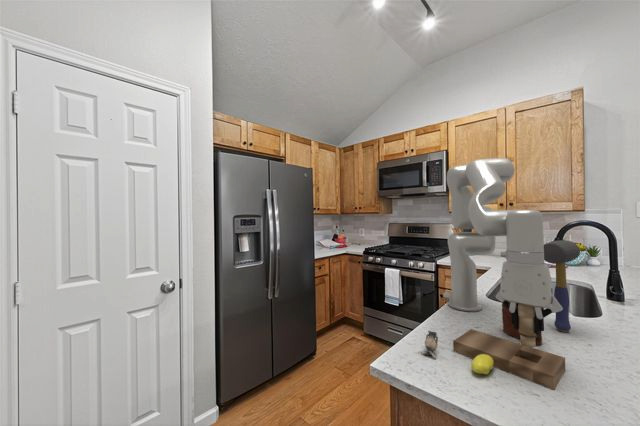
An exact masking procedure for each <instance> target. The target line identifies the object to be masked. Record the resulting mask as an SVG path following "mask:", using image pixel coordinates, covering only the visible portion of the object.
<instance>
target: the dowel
mask: <svg viewBox="0 0 640 426" xmlns="http://www.w3.org/2000/svg"><path fill="white" fill-rule="evenodd" d="M535 317H536V311H535V307H534V306H530V305H525V304H520V303H518V324H519V334H520V339H519V340H520V344H522V345H524V346H527V347H532V348H536V346H537V345H536V341H535V338H536V337H537V335H536V334H535V333H534V318H535Z"/></svg>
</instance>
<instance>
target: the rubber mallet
mask: <svg viewBox="0 0 640 426" xmlns="http://www.w3.org/2000/svg"><path fill="white" fill-rule="evenodd" d="M580 255H581V249H580V247H579V245H578V244H577V243H575V242H573V241H572V240H566V239H564V240H562V239H561V240H560V239H559V240H553V241H550V242H547V243H544V262H547V263H549V264H551V265H553V264H554V265H555V286H554V290H553V295H554V297H555V298H556V299H557V301H558V302H559V303H560V305H561V306H562V308H563V309H562V310H561V311H559V312H555V320H554V327H555V328H556V330H557V331H559V332H563V333H569V332H570V330H571V329H572V327H571V323H570V318H569V317H570V314H569V313H570V312H569V311H570V294H569V290H568V286H567V272H566V271H567V269H566V268H567V267H566V264H567V263H570V262H572V261H574V260H576V259H577V258H578V257H579V256H580Z"/></svg>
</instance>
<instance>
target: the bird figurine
mask: <svg viewBox="0 0 640 426" xmlns="http://www.w3.org/2000/svg"><path fill="white" fill-rule="evenodd" d="M437 334H438V333H437V331H431V330H428V333H427V334H426V337H425V340H424V347H425V349H426V351H425V352H423V351H422V350H421V351H419V350H418V351H417V353H418V354H422V355H424V356H426V355H429V356H431V358H432V359H433V360H437V359H439V358H438V357H437V356H436V355H435V353H434V352H436V351H437V349H438V346H439V345H438V342H439V341H438V340H439V338H438V336H437Z"/></svg>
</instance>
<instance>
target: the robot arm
mask: <svg viewBox="0 0 640 426" xmlns="http://www.w3.org/2000/svg"><path fill="white" fill-rule="evenodd" d="M446 172H447V173H446V184H447V187H448V190H449V193H450V198H451V200H450V202H451V203H450V204H451V214H450V215H451V224H452V227H454V228H455V229H458V230H475V232H473V231H466V232H465V231H463V232H462V231H457V232H453V233H451V234H449V235H448V237H447V246H448V251H449V259H450V260H449V261H450V283H451V288H450V289H451V293H448V292H444V291H443V295H442V297H443V298H444V299H448V301H447V305H448V306H449V307H450V308H452V309H453V310H454V309H455V310H457V311H461V312H462V311H463V312H469V313H470V312H479V311H481V310H483V306H482V304H480V303H478V285H477V284H478V281H477V279H478V278H477V266H476V265H477V264H476V263H475V262H474V261H473V259H472V258H471V257H470V256H473V255H474V256H475V255H476V256H477V255H478V256H482V255H483V256H485V255H486V256H487V255H488V256H489V255H491V254H493V253H494V252H495V249H496V237H505V239H506V250H505V251H501V252H500V257H502V258H505V260H506V261H503V262H502V266H501V267H502V268H501V274H500V275H501V276H500V289H499V291H498V292H497V293H496V294H495V299H497V300H498V301H500V302H501V303H503V304H504V305H505V306H506V307H507V308H508V309H509V311H510V312H511V316H512V324H514V329H518V328H519V324H518V303H520V304H525V305H530V306H534V307H535V311H536V317H535V318H534V333H535V334H536V335H539V334H540V333H541V332H544V331H545V319H544V318H546V317H548V316H549V315H551V314H554V313H555V314H556V312H559V311H561V310H562V309H563V308H562V306H561V305H560V303H559V302H558V301H557V299H556V298H555V297H554V290H553V289H554V287H553V282H552V276H551V272H550V268H549V265H548V264H545V260H544V244H545V243H544V242H545V240H544V219H543V217H544V216H543V214H542V212H541V211H539V210H536V209H495V210H494V209H492V208H491V207H489V206H486V205H488V204H492V203H493V202H495V201H497V200H499V199H501V198H502V197H503V196H504V194H505V193H506V184H505V183H507V182H509V181H510V180H512V178H513V177H514V175H515V165H514V163H513V162H512V161H511V160H510V159H508V158H506V157H495V158H494V157H493V158H492V157H491V158H479V159H477V158H476V159H475V160H472V161H470V162H469V163H468V164H460V165H454V166H452V167H450V168H449V169H448V171H446ZM469 187H471V188H469ZM471 189H472V190H473V191H472V190H471ZM473 192H474V193H473Z"/></svg>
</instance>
